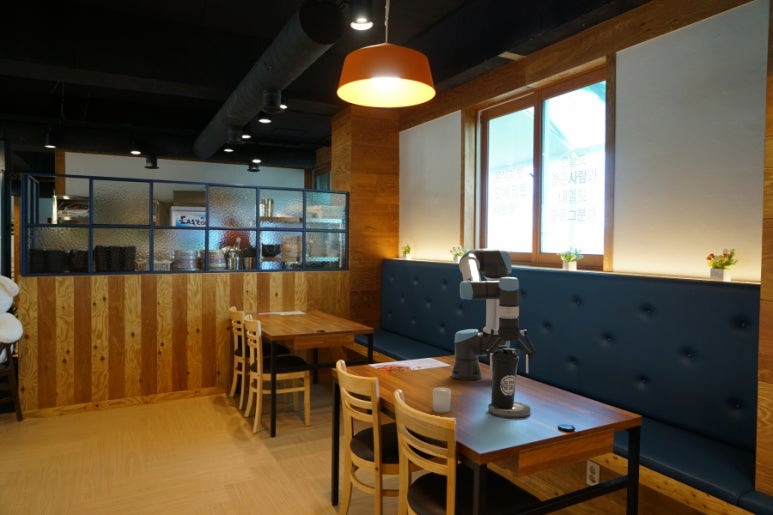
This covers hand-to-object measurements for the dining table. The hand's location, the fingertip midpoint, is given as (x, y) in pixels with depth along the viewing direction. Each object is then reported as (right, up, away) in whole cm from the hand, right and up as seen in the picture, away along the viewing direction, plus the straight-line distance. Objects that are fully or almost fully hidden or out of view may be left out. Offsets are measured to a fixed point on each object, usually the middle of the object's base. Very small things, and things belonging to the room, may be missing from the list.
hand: (509, 371), depth 201 cm
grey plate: (0, -16, 0) cm, 16 cm away
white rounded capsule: (-26, -16, +4) cm, 31 cm away
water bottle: (-3, -14, +1) cm, 14 cm away
